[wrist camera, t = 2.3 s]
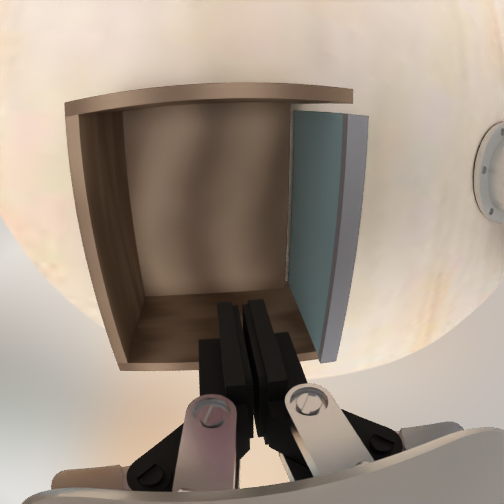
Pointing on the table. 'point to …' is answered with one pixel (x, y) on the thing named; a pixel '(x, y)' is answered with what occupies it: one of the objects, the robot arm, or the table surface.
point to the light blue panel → (326, 220)
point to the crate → (186, 211)
